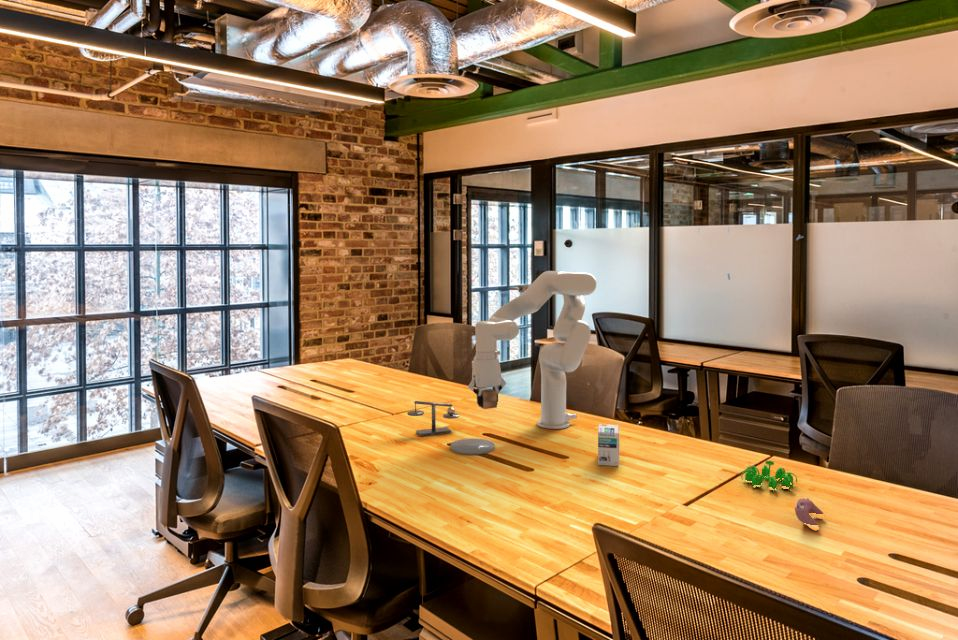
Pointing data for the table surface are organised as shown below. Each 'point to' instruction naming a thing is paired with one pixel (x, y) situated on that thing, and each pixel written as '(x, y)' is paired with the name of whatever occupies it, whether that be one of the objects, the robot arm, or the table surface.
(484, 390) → the walnut block
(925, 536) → the table surface
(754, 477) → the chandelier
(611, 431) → the light bulb box
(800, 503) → the purple rounded piece
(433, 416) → the balance
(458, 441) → the dish
